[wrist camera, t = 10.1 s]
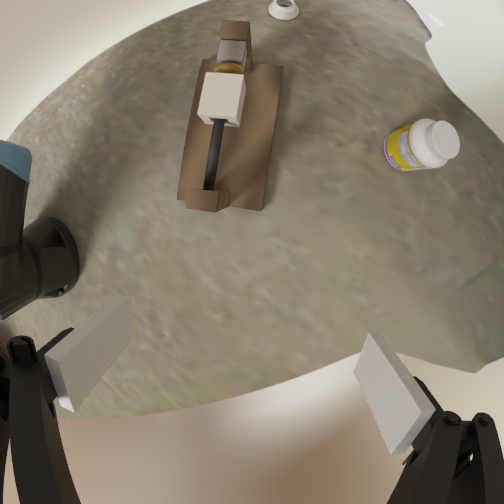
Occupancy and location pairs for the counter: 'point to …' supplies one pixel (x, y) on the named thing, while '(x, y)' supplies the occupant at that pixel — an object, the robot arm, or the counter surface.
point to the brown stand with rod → (231, 132)
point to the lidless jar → (283, 9)
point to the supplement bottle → (421, 145)
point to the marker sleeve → (222, 98)
